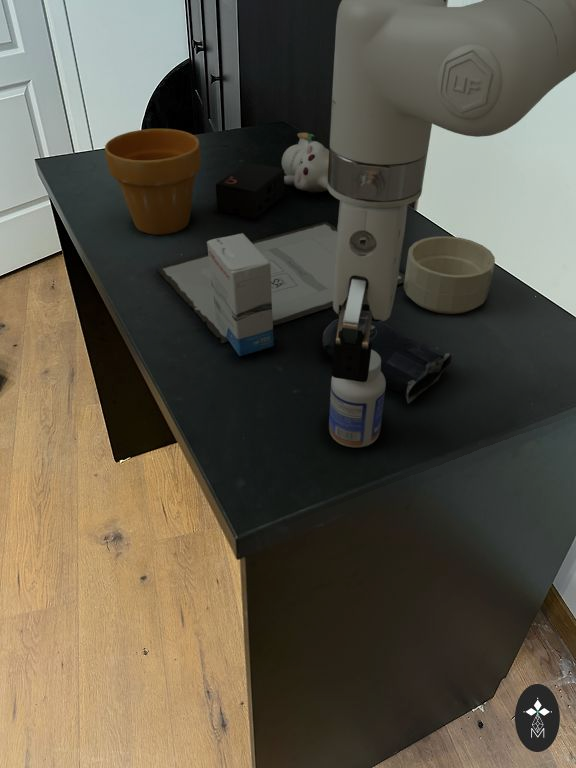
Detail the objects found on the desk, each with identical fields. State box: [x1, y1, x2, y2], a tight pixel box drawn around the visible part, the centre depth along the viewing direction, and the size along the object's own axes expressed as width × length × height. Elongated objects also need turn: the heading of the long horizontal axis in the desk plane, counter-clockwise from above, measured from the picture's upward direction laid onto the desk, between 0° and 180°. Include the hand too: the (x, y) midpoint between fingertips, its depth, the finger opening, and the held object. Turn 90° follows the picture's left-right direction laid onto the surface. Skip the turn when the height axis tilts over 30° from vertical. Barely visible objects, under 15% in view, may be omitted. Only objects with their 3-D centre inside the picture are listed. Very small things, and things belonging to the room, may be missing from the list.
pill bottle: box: [328, 349, 387, 448], centre depth 66 cm, size 5×5×10 cm
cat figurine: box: [281, 132, 329, 194], centre depth 116 cm, size 10×8×15 cm
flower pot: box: [104, 128, 202, 236], centre depth 103 cm, size 14×14×13 cm
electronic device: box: [215, 161, 285, 220], centre depth 111 cm, size 7×11×5 cm
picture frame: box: [155, 221, 405, 344], centre depth 94 cm, size 22×1×30 cm
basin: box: [403, 235, 496, 315], centre depth 88 cm, size 11×11×6 cm
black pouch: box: [321, 318, 453, 405], centre depth 77 cm, size 9×6×15 cm
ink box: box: [206, 232, 275, 357], centre depth 78 cm, size 9×5×12 cm, turn 25°
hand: (357, 346), depth 62 cm, fingers open, 9 cm apart
